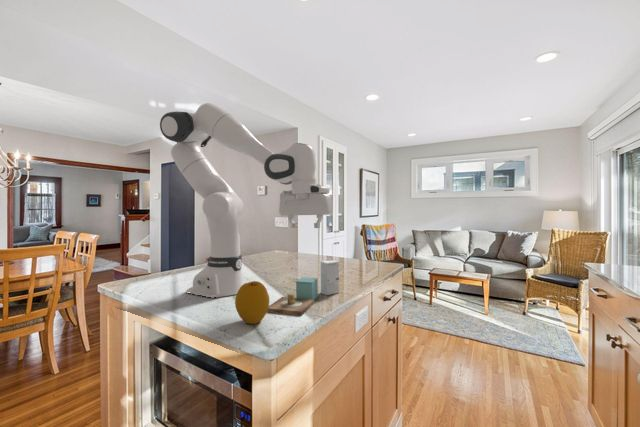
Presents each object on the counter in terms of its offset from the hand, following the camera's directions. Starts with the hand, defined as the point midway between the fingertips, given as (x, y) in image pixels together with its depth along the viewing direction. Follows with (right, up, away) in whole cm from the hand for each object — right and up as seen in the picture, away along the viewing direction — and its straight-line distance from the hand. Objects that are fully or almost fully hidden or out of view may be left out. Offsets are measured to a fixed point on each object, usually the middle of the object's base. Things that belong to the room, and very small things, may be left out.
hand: (305, 228), depth 103 cm
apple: (-14, -26, -20) cm, 36 cm away
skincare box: (+9, -26, +7) cm, 28 cm away
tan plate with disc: (-4, -26, -8) cm, 27 cm away
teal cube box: (+1, -26, +1) cm, 26 cm away
